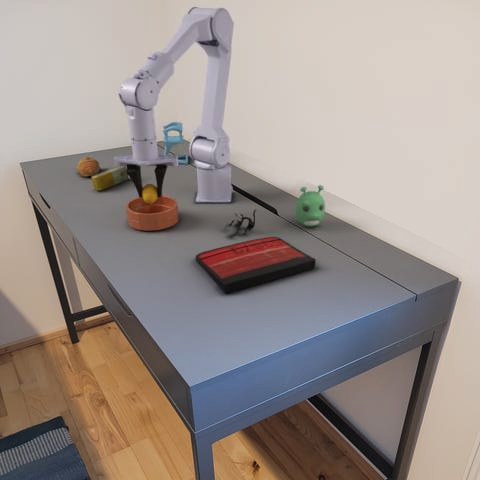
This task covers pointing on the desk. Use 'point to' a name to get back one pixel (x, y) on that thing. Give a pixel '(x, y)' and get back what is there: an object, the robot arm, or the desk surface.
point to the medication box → (110, 178)
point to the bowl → (152, 213)
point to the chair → (174, 139)
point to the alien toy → (310, 207)
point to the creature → (250, 225)
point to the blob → (149, 193)
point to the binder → (253, 263)
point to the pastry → (88, 167)
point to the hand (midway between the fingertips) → (150, 195)
